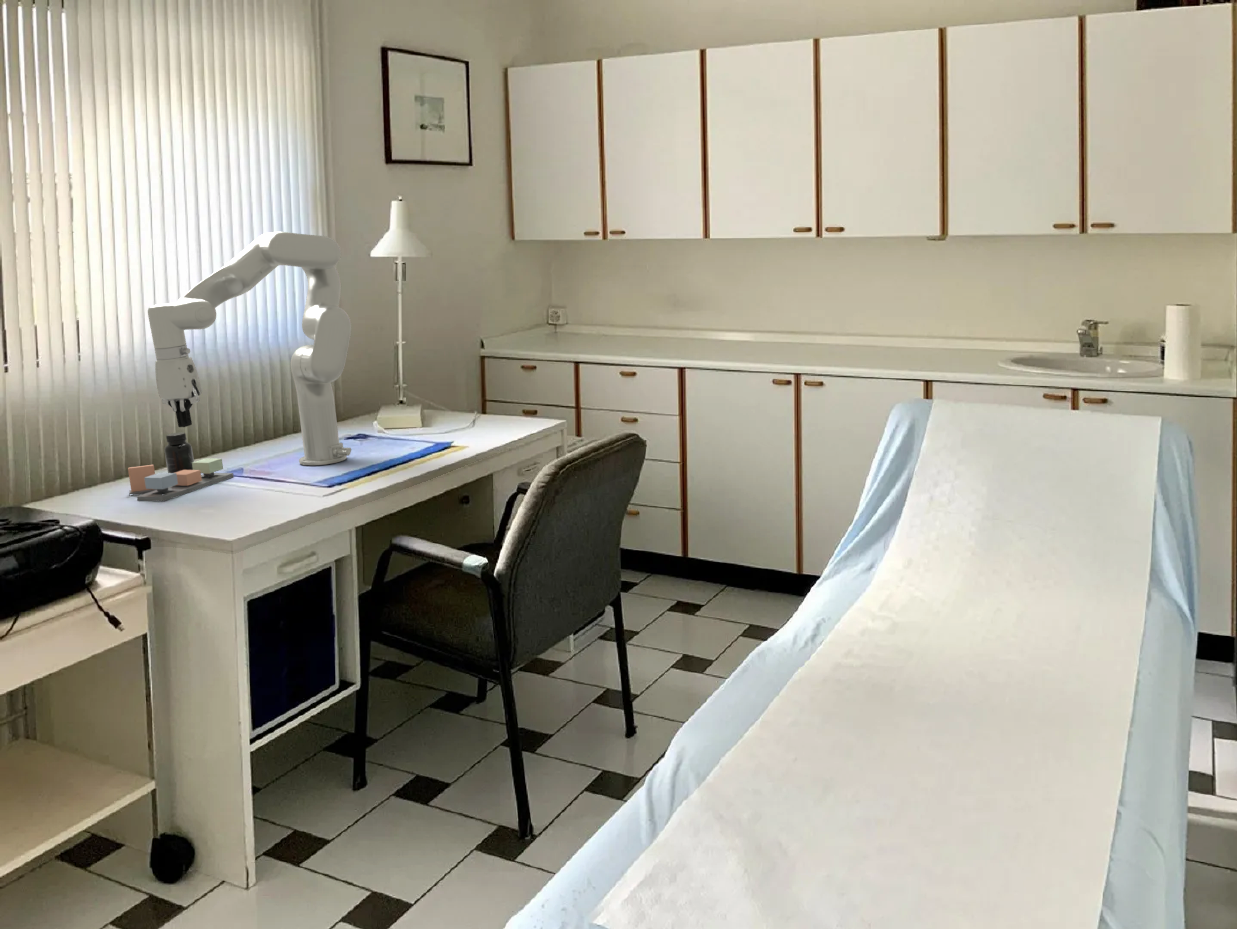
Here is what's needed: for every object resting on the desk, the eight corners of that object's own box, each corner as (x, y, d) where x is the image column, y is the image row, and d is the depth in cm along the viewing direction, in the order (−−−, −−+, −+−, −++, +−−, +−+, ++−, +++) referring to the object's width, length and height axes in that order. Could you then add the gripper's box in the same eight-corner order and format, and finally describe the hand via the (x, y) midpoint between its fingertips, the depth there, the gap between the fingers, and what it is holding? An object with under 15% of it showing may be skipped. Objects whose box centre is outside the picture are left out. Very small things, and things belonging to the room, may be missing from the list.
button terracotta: (202, 484, 296) (200, 470, 296) (188, 489, 292) (186, 474, 291) (185, 484, 298) (183, 469, 297) (171, 489, 294) (169, 474, 293)
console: (233, 476, 306) (233, 473, 305) (163, 501, 282) (163, 497, 282) (208, 476, 308) (208, 472, 308) (137, 500, 285) (136, 496, 284)
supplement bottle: (185, 474, 312) (179, 430, 310) (201, 476, 309) (195, 432, 306) (163, 480, 307) (156, 435, 304) (179, 482, 303) (172, 436, 301)
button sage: (223, 472, 304) (221, 458, 303) (210, 477, 299) (208, 462, 298) (207, 472, 306) (205, 458, 305) (193, 477, 301) (191, 462, 300)
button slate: (178, 488, 288) (176, 473, 288) (163, 493, 284) (161, 477, 283) (161, 487, 290) (159, 472, 289) (146, 492, 286) (144, 477, 285)
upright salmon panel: (129, 492, 294) (125, 467, 293) (159, 488, 297) (155, 463, 295) (129, 495, 291) (125, 469, 289) (159, 491, 293) (155, 465, 292)
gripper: (206, 350, 291) (219, 422, 295) (158, 352, 296) (171, 423, 300) (186, 355, 284) (199, 428, 288) (137, 357, 289) (151, 430, 293)
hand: (185, 425), depth 294 cm, fingers closed
